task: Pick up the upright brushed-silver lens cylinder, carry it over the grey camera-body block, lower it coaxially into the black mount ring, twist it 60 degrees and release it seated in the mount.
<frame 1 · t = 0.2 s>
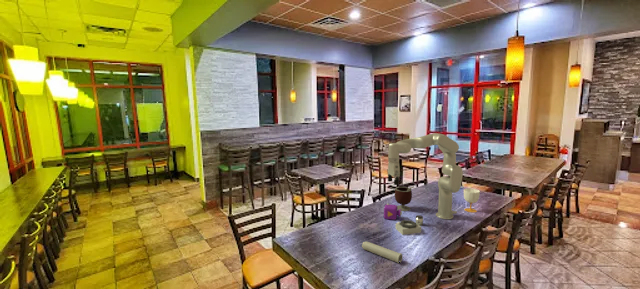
hand: (393, 183, 201), 31 cm above the table, fingers open, 9 cm apart
tube: (380, 255, 162), on the table
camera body: (408, 230, 192), on the table
cup: (470, 210, 225), on the table
lens: (419, 224, 201), on the table
toy camera: (392, 218, 214), on the table
mate gourd: (403, 208, 232), on the table
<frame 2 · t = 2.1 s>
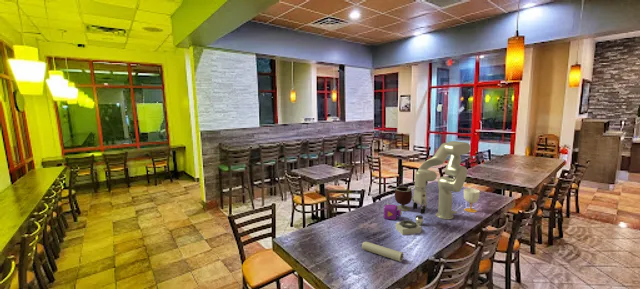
hand: (418, 211, 199), 10 cm above the table, fingers open, 9 cm apart
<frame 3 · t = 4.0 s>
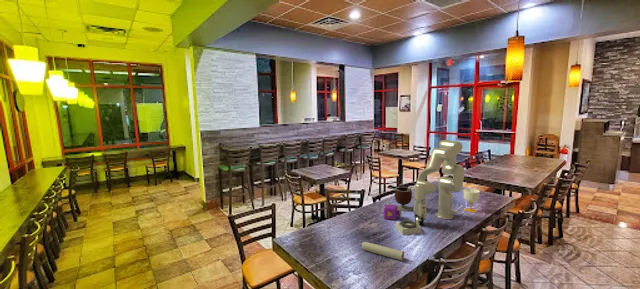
hand: (419, 223, 201), 0 cm above the table, fingers closed on lens, 5 cm apart
lens: (419, 224, 201), on the table, touching gripper
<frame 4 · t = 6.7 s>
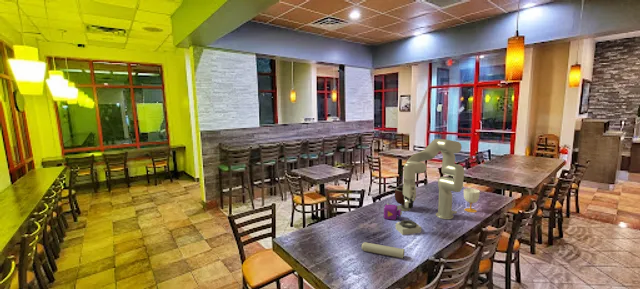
hand: (408, 206, 189), 18 cm above the table, fingers closed on lens, 5 cm apart
lens: (408, 206, 189), point 17 cm above the table, touching gripper
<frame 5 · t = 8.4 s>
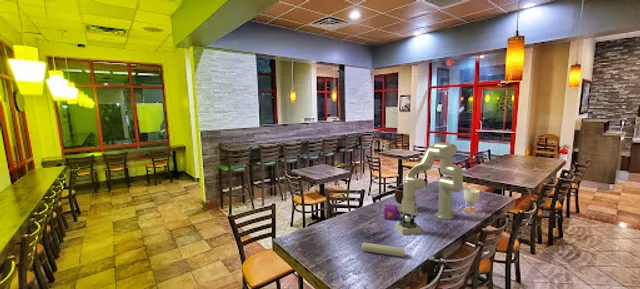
hand: (408, 222, 191), 6 cm above the table, fingers closed on lens, 5 cm apart
lens: (408, 222, 191), point 6 cm above the table, touching gripper
when the fingers open (6 cm above the table, at t = 9.5 s): lens drops 2 cm, resting on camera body.
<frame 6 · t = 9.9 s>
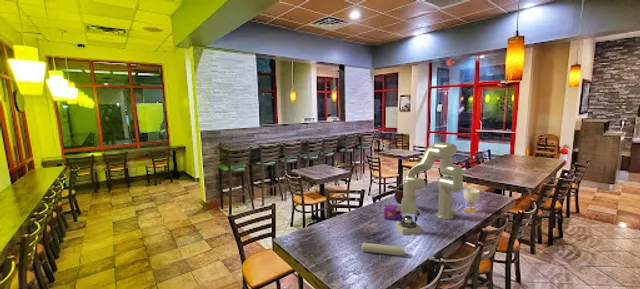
hand: (408, 220, 191), 7 cm above the table, fingers open, 9 cm apart
lens: (408, 225, 191), point 4 cm above the table, touching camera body
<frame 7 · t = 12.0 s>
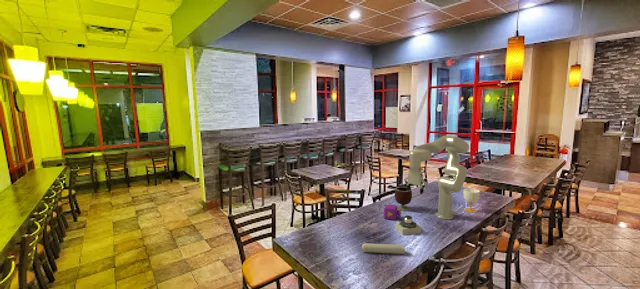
hand: (415, 192, 195), 26 cm above the table, fingers open, 9 cm apart
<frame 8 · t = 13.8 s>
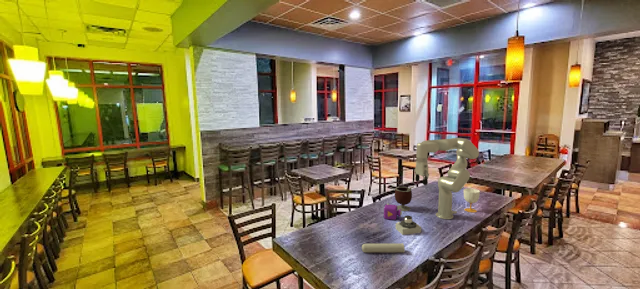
hand: (421, 182, 202), 30 cm above the table, fingers open, 9 cm apart
at the end: lens 0.1 cm off-centre on the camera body, point 4.0 cm above the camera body's base; lens tilted 0°; the gripper is holding nothing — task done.
